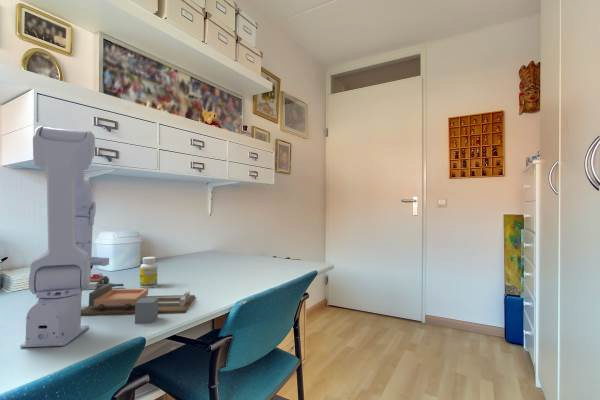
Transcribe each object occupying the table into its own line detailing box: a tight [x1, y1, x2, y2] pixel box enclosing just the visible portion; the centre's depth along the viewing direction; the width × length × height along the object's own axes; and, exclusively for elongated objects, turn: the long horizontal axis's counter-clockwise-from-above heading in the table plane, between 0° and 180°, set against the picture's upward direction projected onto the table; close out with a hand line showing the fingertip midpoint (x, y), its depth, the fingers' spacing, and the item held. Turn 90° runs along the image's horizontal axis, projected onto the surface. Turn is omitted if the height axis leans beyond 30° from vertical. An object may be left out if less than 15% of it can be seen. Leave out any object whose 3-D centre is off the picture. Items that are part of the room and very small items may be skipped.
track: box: [81, 290, 196, 317], centre depth 85 cm, size 14×26×3 cm, turn 99°
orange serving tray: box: [88, 283, 149, 310], centre depth 85 cm, size 12×11×4 cm
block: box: [134, 297, 159, 325], centre depth 75 cm, size 4×4×5 cm
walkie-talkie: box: [86, 272, 124, 291], centre depth 103 cm, size 9×4×20 cm
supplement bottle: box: [139, 256, 158, 289], centre depth 106 cm, size 5×5×10 cm
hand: (77, 292), depth 83 cm, fingers closed
